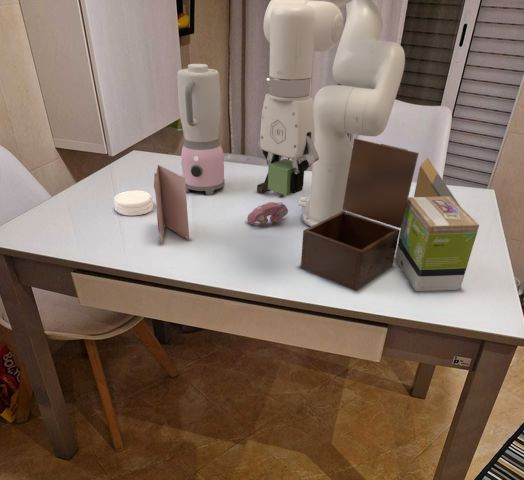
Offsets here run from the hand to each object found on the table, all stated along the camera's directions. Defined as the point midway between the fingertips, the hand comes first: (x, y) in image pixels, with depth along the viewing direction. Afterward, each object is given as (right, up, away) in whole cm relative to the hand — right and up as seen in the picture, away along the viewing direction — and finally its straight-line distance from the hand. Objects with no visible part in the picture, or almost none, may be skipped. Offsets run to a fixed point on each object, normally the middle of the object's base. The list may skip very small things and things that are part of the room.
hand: (285, 187), depth 100 cm
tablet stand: (0, +14, +46) cm, 48 cm away
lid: (+19, +2, +4) cm, 20 cm away
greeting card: (-26, -5, +22) cm, 34 cm away
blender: (-22, +14, +47) cm, 54 cm away
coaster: (-39, +5, +34) cm, 52 cm away
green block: (0, 0, 0) cm, 0 cm away
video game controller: (-3, 0, +28) cm, 28 cm away
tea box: (+31, -17, +8) cm, 36 cm away
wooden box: (+14, -15, +10) cm, 22 cm away
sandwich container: (+42, 0, +30) cm, 51 cm away
